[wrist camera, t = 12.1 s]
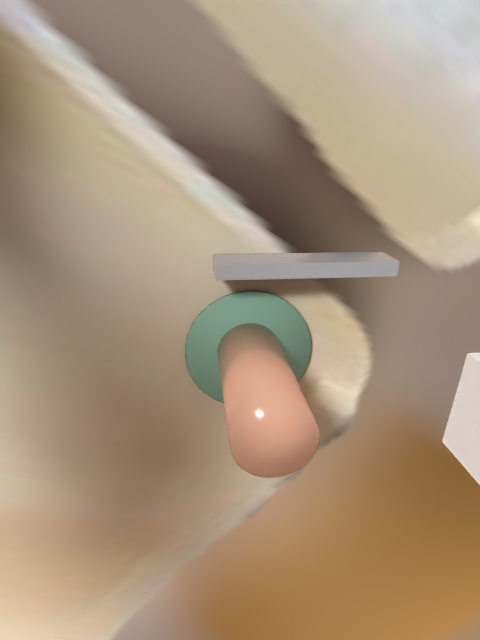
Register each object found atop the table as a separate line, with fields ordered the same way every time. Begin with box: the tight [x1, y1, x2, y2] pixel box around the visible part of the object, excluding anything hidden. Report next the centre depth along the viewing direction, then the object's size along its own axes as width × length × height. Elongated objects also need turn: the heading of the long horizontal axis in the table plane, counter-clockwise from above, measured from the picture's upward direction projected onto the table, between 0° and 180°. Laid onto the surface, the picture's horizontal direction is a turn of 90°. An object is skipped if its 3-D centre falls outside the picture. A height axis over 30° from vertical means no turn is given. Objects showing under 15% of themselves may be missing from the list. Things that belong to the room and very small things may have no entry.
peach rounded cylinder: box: [217, 323, 320, 478], centre depth 31 cm, size 6×6×12 cm
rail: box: [213, 252, 399, 280], centre depth 33 cm, size 14×1×3 cm, turn 89°
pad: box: [185, 291, 311, 403], centre depth 37 cm, size 11×11×1 cm
